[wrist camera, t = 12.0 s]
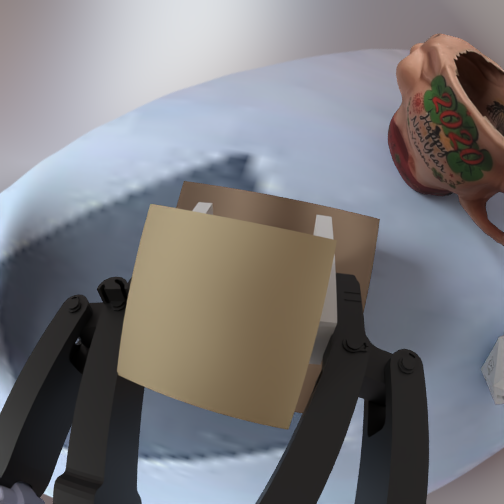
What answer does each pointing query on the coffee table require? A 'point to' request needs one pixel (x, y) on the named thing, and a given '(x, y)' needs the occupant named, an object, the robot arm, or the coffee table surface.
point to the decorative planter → (451, 125)
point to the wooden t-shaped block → (237, 299)
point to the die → (495, 371)
